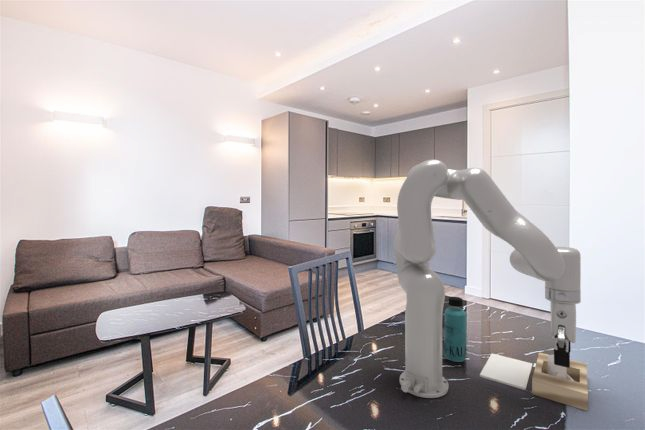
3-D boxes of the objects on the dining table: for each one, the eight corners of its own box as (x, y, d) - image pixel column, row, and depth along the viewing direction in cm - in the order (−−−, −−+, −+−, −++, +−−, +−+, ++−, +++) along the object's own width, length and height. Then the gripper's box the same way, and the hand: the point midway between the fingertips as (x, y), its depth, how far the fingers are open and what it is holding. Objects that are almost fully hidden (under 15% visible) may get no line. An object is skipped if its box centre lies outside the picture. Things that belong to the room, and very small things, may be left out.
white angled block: (567, 391, 80) (558, 353, 84) (549, 391, 88) (542, 356, 92) (584, 393, 79) (574, 354, 83) (565, 392, 88) (557, 357, 92)
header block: (587, 410, 76) (588, 394, 76) (532, 394, 83) (532, 378, 83) (586, 377, 90) (586, 363, 90) (538, 365, 97) (539, 352, 97)
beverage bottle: (449, 354, 104) (449, 293, 104) (470, 361, 100) (470, 297, 99) (439, 362, 100) (439, 297, 99) (461, 369, 95) (461, 302, 94)
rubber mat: (525, 390, 84) (525, 388, 84) (479, 376, 91) (479, 374, 91) (532, 365, 97) (532, 363, 97) (491, 355, 104) (491, 353, 104)
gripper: (580, 305, 76) (580, 377, 77) (580, 288, 90) (580, 349, 91) (542, 300, 81) (542, 367, 82) (547, 285, 95) (547, 343, 95)
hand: (562, 358), depth 86 cm, fingers open, 9 cm apart
